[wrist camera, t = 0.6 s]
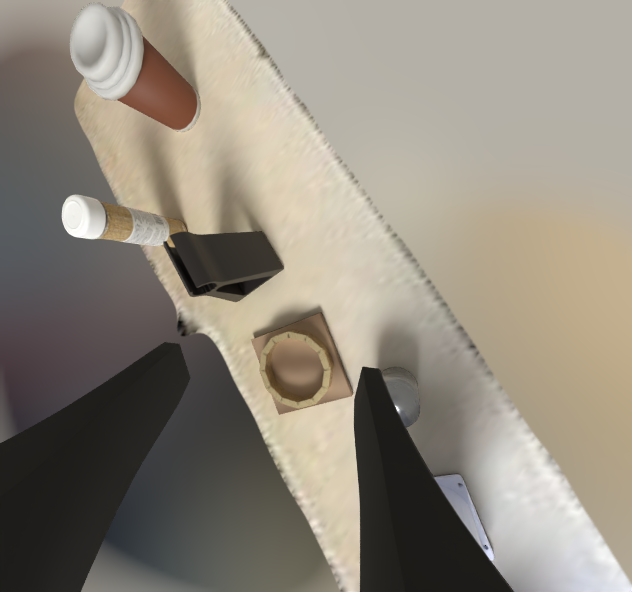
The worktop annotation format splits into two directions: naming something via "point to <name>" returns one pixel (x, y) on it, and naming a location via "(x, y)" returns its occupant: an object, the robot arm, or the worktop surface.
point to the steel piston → (403, 393)
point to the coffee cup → (130, 67)
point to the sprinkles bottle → (117, 222)
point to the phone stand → (223, 263)
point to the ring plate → (301, 365)
